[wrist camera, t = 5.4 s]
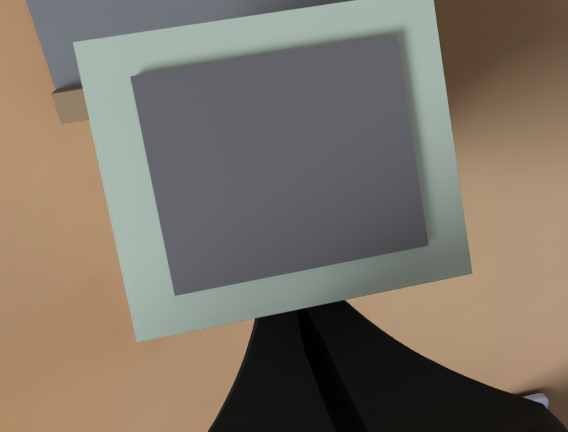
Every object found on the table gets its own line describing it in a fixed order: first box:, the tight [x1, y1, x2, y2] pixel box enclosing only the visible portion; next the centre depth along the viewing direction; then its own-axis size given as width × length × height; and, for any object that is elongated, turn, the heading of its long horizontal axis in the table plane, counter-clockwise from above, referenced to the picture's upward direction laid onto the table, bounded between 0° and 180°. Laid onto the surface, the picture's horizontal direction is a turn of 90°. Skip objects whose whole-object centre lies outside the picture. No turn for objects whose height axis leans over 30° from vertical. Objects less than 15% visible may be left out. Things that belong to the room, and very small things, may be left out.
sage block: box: [73, 0, 472, 342], centre depth 13 cm, size 5×6×10 cm
